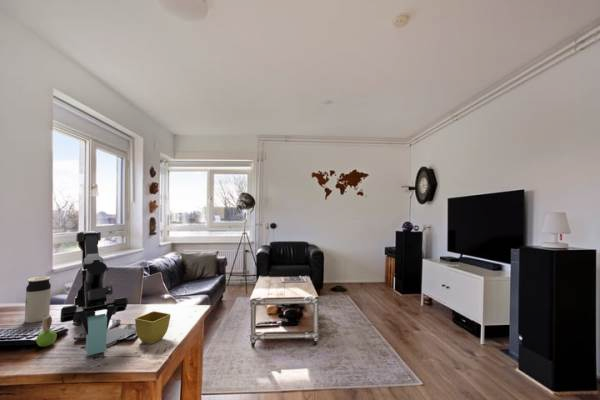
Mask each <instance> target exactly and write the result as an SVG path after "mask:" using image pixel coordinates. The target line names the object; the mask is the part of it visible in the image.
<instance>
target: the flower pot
mask: <svg viewBox="0 0 600 400" xmlns="http://www.w3.org/2000/svg"><path fill="white" fill-rule="evenodd" d="M170 319H171V314H170V313H167V312H161V311H154V310H152V311H150V312H148V313H145V314H143V315H140V316H137V317H135V319H134V321H135V333H136V335H137V337H138V338H139V340H140V342H141V343H146V344H151V345H152V344H155V343H156V342H158V341H160V340H162V339H163V338H164V337H165V335H166V333H167V332H168V329H169V326H170V322H171V321H170Z"/></svg>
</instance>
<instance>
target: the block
mask: <svg viewBox="0 0 600 400" xmlns="http://www.w3.org/2000/svg"><path fill="white" fill-rule="evenodd" d="M87 326H88V335H86V334H85V352H86V356H93V355H96V354H99V353H104V352H106V351H107V347H106V335H107V331H108V329H107V317H106V313H100V314H97V315H96V314H95V316H90V317H87Z"/></svg>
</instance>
